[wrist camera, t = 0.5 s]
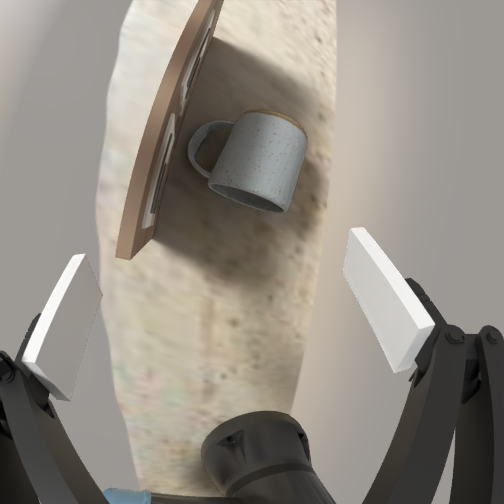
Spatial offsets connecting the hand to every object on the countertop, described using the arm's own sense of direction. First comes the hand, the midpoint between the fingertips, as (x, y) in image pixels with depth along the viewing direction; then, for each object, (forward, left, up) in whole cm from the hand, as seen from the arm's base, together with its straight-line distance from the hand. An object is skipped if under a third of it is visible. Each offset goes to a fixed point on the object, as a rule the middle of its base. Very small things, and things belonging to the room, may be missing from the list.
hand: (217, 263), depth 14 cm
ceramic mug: (+8, -3, -16) cm, 18 cm away
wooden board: (+11, +5, -16) cm, 20 cm away
